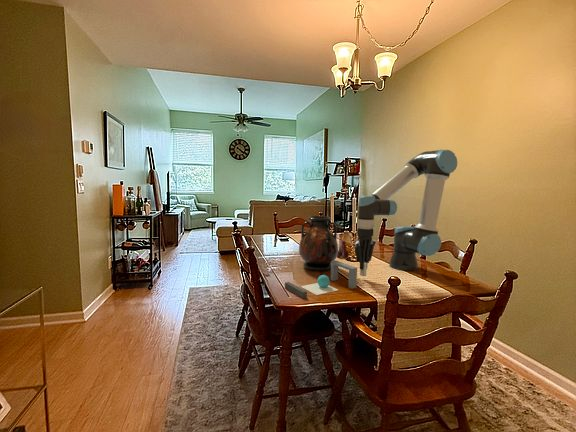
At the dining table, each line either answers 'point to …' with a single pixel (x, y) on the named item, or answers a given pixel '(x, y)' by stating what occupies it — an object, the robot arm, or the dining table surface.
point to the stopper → (296, 290)
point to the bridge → (351, 269)
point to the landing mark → (318, 289)
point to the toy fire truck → (342, 249)
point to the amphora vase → (318, 244)
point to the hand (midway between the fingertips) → (363, 275)
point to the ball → (323, 281)
